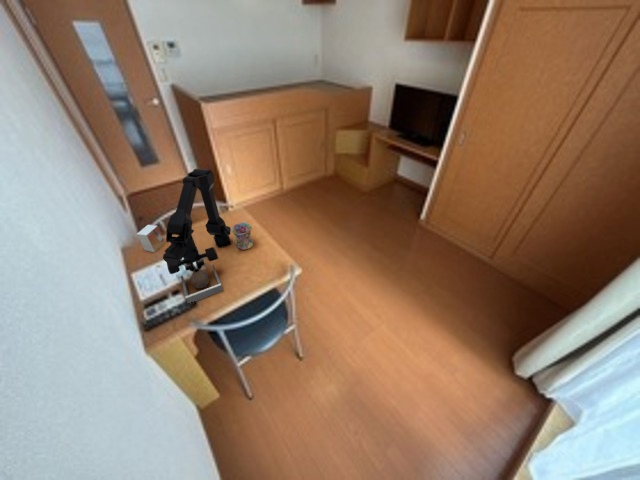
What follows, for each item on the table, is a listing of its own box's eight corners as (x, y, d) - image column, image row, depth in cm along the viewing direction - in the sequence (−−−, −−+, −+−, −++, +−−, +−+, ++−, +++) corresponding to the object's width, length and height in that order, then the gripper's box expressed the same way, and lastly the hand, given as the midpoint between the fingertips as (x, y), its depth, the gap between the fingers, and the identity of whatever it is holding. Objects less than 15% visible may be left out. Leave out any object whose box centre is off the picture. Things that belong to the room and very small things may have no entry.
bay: (215, 270, 120) (213, 264, 117) (223, 290, 111) (221, 284, 108) (183, 281, 114) (180, 275, 112) (188, 304, 105) (185, 298, 103)
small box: (155, 252, 129) (146, 235, 122) (145, 251, 130) (135, 234, 123) (165, 242, 135) (157, 225, 128) (156, 240, 136) (147, 224, 129)
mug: (242, 237, 138) (239, 220, 131) (258, 241, 136) (255, 224, 129) (228, 252, 129) (223, 234, 123) (245, 256, 127) (241, 239, 120)
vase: (214, 280, 115) (209, 266, 109) (204, 292, 110) (198, 278, 104) (200, 276, 116) (195, 262, 111) (190, 288, 111) (183, 274, 106)
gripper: (207, 228, 114) (216, 255, 124) (159, 242, 106) (172, 269, 117) (213, 244, 106) (222, 270, 117) (162, 259, 99) (176, 286, 109)
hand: (198, 273), depth 115 cm, fingers closed, pressing on vase
